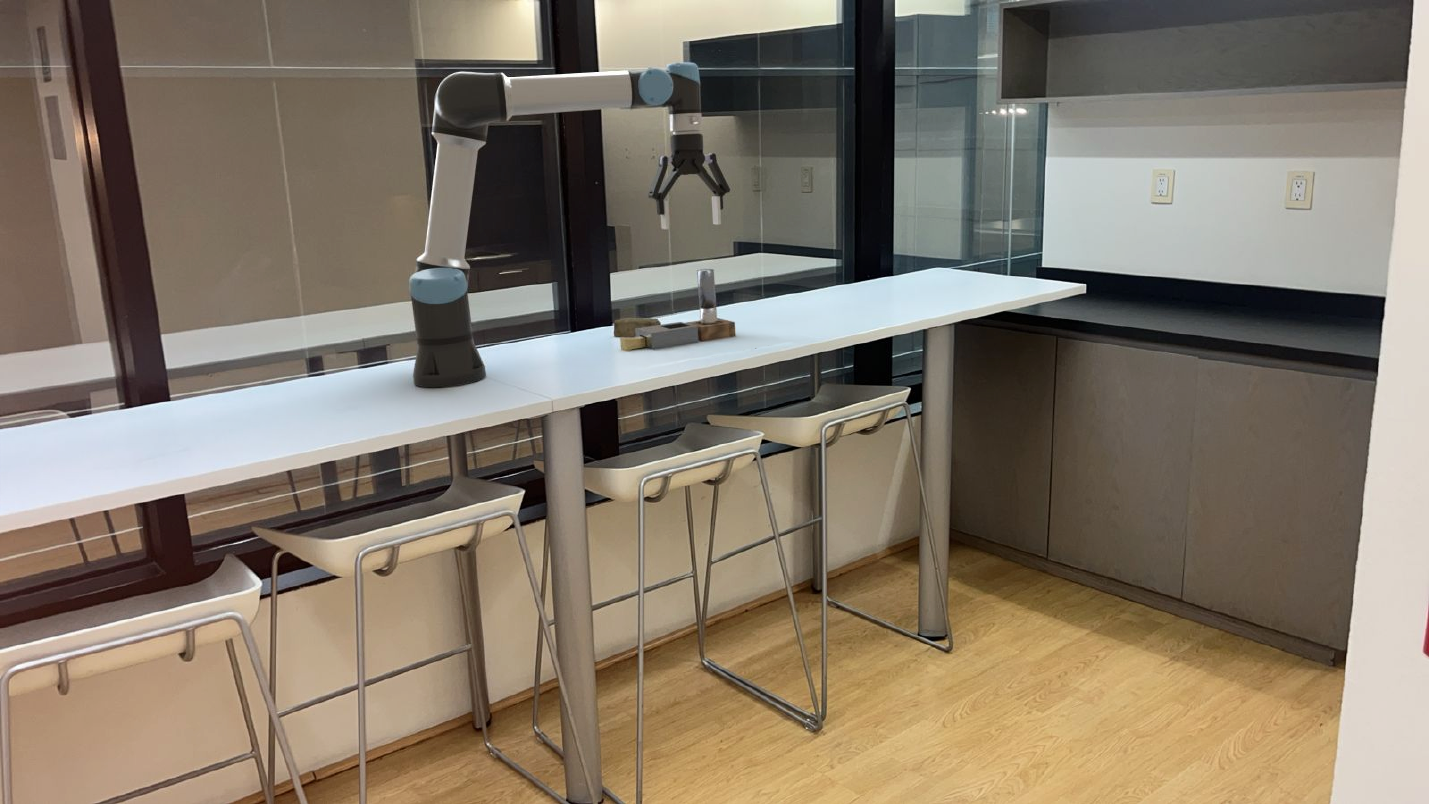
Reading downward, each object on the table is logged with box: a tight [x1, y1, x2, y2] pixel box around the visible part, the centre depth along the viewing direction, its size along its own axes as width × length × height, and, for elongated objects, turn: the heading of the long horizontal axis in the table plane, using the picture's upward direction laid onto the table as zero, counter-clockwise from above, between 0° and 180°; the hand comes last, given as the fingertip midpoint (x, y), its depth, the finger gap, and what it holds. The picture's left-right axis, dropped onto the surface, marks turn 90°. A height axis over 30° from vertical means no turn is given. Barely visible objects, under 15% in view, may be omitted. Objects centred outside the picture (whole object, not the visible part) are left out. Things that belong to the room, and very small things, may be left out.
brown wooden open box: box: [685, 317, 736, 342], centre depth 254 cm, size 9×9×4 cm
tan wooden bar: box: [619, 336, 647, 352], centre depth 246 cm, size 9×3×3 cm, turn 118°
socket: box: [635, 321, 700, 351], centre depth 249 cm, size 12×9×4 cm
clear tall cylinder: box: [696, 268, 718, 325], centre depth 253 cm, size 4×4×16 cm
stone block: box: [613, 317, 662, 338], centre depth 263 cm, size 6×12×5 cm, turn 63°
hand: (691, 226), depth 248 cm, fingers open, 13 cm apart
